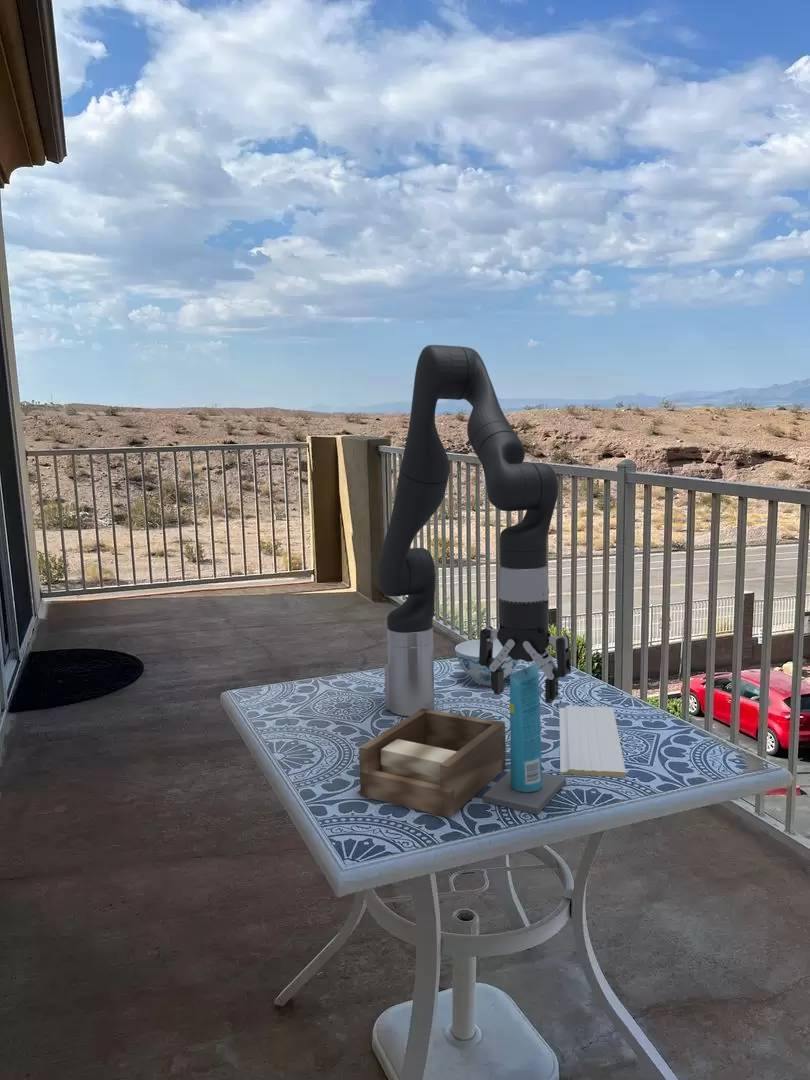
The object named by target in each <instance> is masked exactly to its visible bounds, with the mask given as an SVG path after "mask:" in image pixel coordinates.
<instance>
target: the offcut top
mask: <svg viewBox="0 0 810 1080" xmlns="http://www.w3.org/2000/svg"><path fill="white" fill-rule="evenodd" d="M456 752H457V751H452V750H448V749H443V748H438V747H433V746H428V745H424V744H419V743H414V742H409V741H405V740H400V739H396V740H395V741H393V742H392V743H390V744H389V745H387V746H385V747H384V748H382V749H381V765H385V766H390V767H394V768H399V769H403V770H407V771H412V772H416V773H420V774H425V775H429V776H433V777H438V778H440V764H442V763H443V762H444V761H446V760H447V759H448V758H449V757H451V756H452V755H453V754H455V753H456Z"/></svg>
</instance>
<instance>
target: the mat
mask: <svg viewBox="0 0 810 1080" xmlns="http://www.w3.org/2000/svg"><path fill="white" fill-rule="evenodd" d="M566 781H567V778H566V777H565V776H564V777H563V776H559V775H553V774H548V773H545V772H542V787H541V788H540V789H539V790H537V791H533V792H520V791H516V790H514V789H513V788H512V787H511V769H510V771H508V772H507V773H506V774H504V776H503V777H501V778H500V779H499V780H498V781H497V782H496V783H495V784H493V785H492V787H490V788H489V789H488V790H487V791H486V792H485V793H484V794H483V795H482V803H485V802H487V803H486V804H489V803H491V805H494V804H495V806H498V805H500V806H499V807H502V806H503V808H506V807H507V809H512V810H516V811H521V812H525V813H528V814H533V815H535V816H537V815H539V813H541V811H543V809H545V807H546V806H547V805H548V804H549V803H550V801H551V800H552V799H554V797H555V796H556V795H558V793H559V792H560V791H561V790H562V788H563V787H564V786H566V785H567V782H566ZM560 789H561V790H560ZM559 790H560V791H559ZM558 791H559V792H558ZM557 792H558V793H557Z"/></svg>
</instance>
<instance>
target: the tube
mask: <svg viewBox="0 0 810 1080" xmlns="http://www.w3.org/2000/svg"><path fill="white" fill-rule="evenodd" d="M539 676H540V674H539V667H538V666H537V665H536V663H535V662H534V664H532V665H529V666H527V667H525V668H522V669H520V670H517V671H516V672H512V673H511V674H509V721H510V722H509V723H510V724H509V727H510V729H509V730H510V734H509V736H510V739H509V740H510V770H511V787H512V788H513V789H514V790H516V791H520V792H533V791H537V790H539V789H540V788H541V787H542V773H543V771H542V741H541V740H542V737H541V736H542V735H541V734H542V733H541V729H542V728H541V697H540V677H539Z"/></svg>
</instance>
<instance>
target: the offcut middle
mask: <svg viewBox="0 0 810 1080" xmlns="http://www.w3.org/2000/svg"><path fill="white" fill-rule="evenodd" d="M382 772H384V773H388V774H393V775H397V776H402V777H406V778H410V779H415V780H419V781H423V782H428V783H432V784H436V785H440V778H438V777H433V776H429V775H425V774H420V773H416V772H412V771H407V770H403V769H399V768H394V767H390V766H385V765H382Z"/></svg>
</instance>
